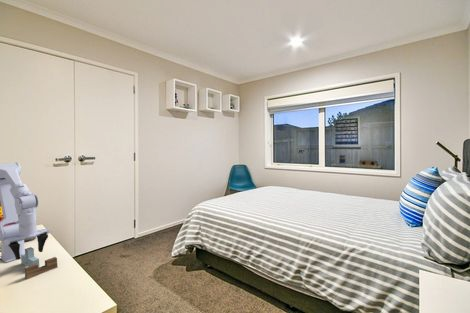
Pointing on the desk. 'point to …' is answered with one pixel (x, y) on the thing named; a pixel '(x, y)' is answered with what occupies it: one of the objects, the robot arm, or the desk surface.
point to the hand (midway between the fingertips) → (29, 255)
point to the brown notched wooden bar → (40, 268)
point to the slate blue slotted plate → (29, 257)
